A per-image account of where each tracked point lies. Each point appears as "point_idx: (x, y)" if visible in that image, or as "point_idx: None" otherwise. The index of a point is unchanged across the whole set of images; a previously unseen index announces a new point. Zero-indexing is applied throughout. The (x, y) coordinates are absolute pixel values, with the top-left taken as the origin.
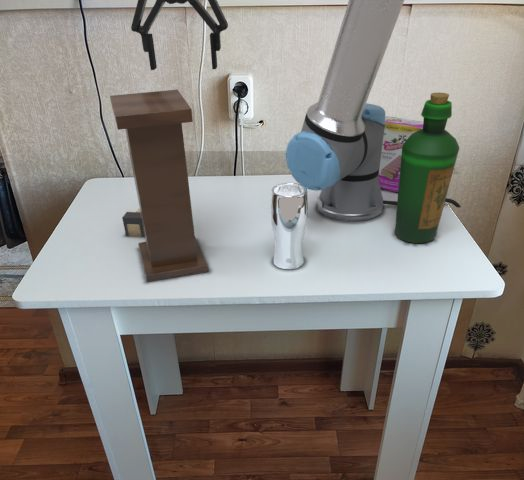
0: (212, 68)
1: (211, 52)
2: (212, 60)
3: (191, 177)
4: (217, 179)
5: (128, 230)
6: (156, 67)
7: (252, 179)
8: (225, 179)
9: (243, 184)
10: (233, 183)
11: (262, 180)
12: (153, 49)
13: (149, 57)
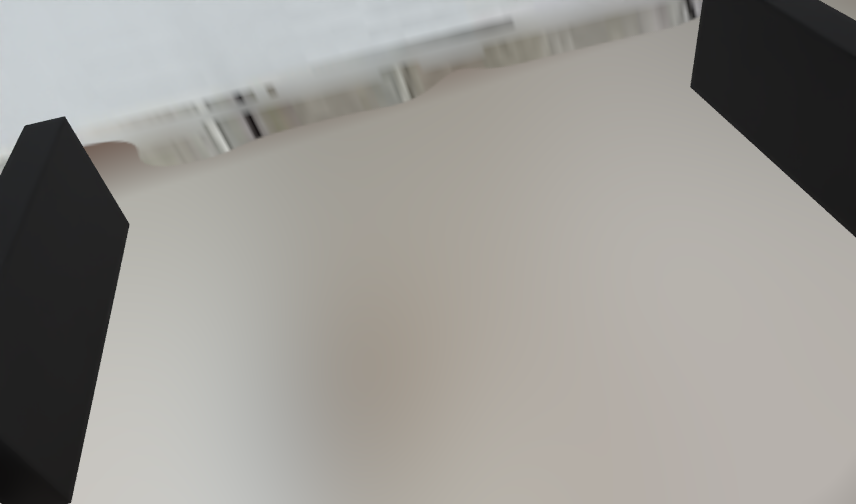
0: (61, 122)
1: (13, 219)
2: (34, 168)
3: (408, 38)
4: (293, 43)
5: None
6: (693, 76)
7: (145, 78)
8: (259, 51)
9: (154, 16)
10: (204, 17)
11: (96, 78)
12: (798, 142)
13: (815, 4)
